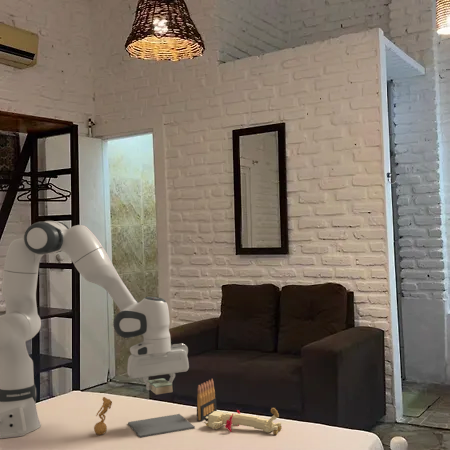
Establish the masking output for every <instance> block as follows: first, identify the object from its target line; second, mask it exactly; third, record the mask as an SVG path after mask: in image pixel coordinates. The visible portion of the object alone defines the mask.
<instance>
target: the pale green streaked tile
mask: <svg viewBox="0 0 450 450" xmlns="http://www.w3.org/2000/svg"><path fill="white" fill-rule="evenodd" d="M168 381H169V380H166V378H155V379H148V380H147V382H148V383H149V384H152V390H150V391H151V392H152V393H153V394H155V395H162V394H168V393H169V394H170V393H174V392H173V391H174V390H173V383H172V384H171V383H170V382H168Z"/></svg>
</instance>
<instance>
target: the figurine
mask: <svg viewBox="0 0 450 450" xmlns="http://www.w3.org/2000/svg"><path fill="white" fill-rule="evenodd" d="M102 402H103V403H102V405H101V407H100V408H99V410H98V412H97V413H96V415H95V417H99V418H100V419H101V420H100V421H98V422H96V423H95V424H94V426H93V430H94V431H93V432H94V433H95V434H96V435H97V436H98V435H99V436H102V435H104V434H105V433H106V432H107V428H108V427H107V424H106V423H105V420H106V415H105V414H107V412H108V410H110V409H111V407H112V404H113V401H112V400H111V399H109V398H107V397H105V396H103V397H102Z"/></svg>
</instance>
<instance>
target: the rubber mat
mask: <svg viewBox="0 0 450 450" xmlns="http://www.w3.org/2000/svg"><path fill="white" fill-rule="evenodd" d="M127 424H128V426H129V427H130V428H131V429H132V430H133V431H134V433H135V434H136V435H137V436H138V437H139V438H147V437H152V436H158V435H165V434H171V433H176V432H181V431H187V430H193V429H194V430H195V429H196V427H195V426H194V424H193V423H191V422H190V421H189V420H187V419H186V418H185V417H184V416H182V415H181V414H180V413H178V414H177V413H176V414H170V415H164V416H158V417H151V418H145V419H139V420H133V421H132V420H131V421H128V422H127Z"/></svg>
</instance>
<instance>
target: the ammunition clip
mask: <svg viewBox="0 0 450 450" xmlns="http://www.w3.org/2000/svg"><path fill="white" fill-rule="evenodd" d="M196 397H197V398H196V399H197V404H196V421H197V422H204V421H206V420H205V418H206V417H208V415H210V414H211V413H213V412H214V411H218V409H217V398H216V391H215V384H214V379H213V378H211V379H208V381H207V380H206V382H203V383H200V384H198V385H197V395H196Z"/></svg>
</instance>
